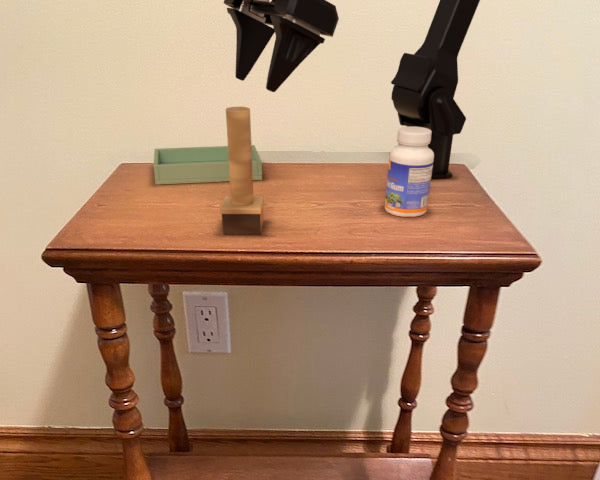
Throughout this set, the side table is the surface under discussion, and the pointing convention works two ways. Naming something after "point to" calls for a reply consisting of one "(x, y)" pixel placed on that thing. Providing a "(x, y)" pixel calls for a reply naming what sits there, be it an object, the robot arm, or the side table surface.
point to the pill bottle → (409, 173)
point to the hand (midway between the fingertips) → (254, 84)
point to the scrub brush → (241, 178)
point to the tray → (197, 165)
